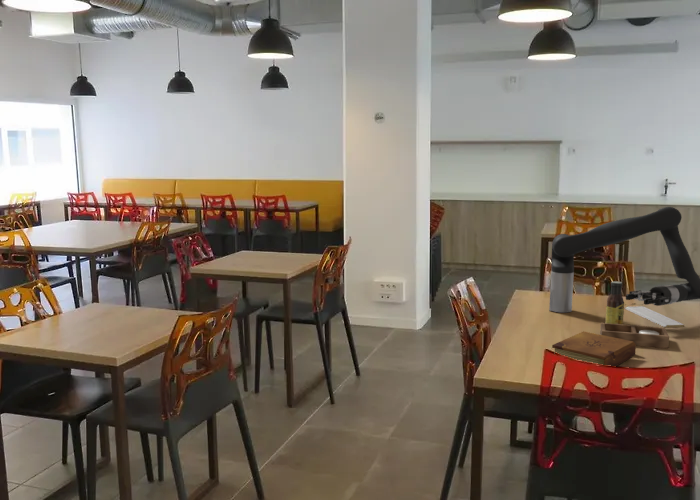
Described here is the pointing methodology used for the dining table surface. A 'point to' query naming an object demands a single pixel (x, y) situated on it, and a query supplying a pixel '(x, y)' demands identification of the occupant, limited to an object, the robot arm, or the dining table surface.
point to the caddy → (636, 334)
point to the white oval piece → (648, 332)
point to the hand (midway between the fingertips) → (635, 299)
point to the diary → (596, 348)
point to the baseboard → (654, 316)
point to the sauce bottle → (615, 304)
